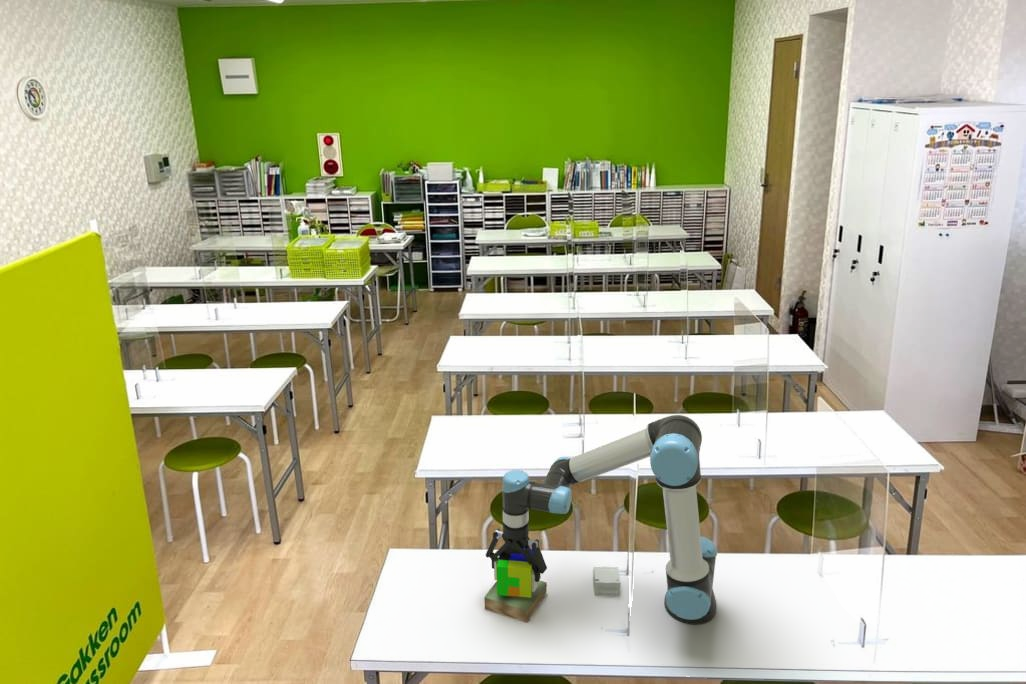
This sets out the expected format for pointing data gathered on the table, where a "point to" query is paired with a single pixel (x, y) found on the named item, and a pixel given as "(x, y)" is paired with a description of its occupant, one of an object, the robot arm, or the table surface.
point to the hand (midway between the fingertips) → (515, 583)
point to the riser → (515, 602)
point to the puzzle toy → (514, 574)
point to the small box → (606, 581)
